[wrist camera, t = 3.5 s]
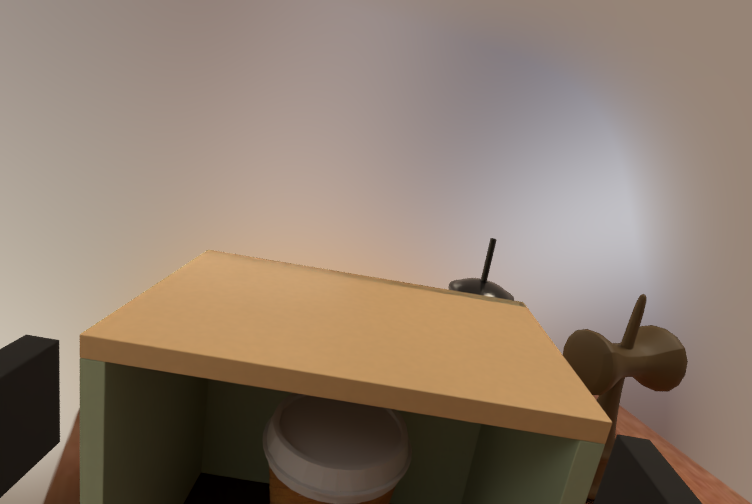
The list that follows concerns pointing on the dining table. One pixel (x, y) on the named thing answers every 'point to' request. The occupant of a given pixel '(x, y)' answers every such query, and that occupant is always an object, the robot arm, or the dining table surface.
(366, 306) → the cabinet
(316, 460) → the disposable coffee cup
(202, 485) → the dining table surface
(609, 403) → the kendama
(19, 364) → the robot arm
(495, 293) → the drinking cup
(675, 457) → the dining table surface
